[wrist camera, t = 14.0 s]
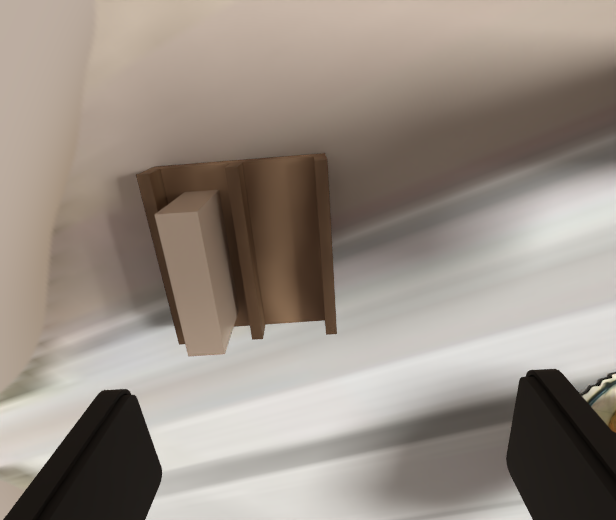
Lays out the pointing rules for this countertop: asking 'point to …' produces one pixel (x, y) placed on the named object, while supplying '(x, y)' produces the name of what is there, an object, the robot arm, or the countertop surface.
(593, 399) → the decorative vase
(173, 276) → the beige rectangular block
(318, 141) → the countertop surface
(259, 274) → the walnut rack
